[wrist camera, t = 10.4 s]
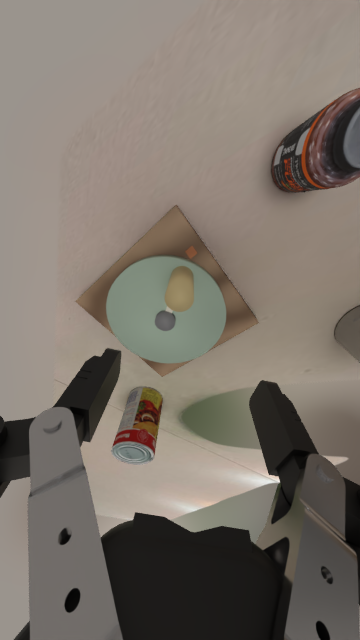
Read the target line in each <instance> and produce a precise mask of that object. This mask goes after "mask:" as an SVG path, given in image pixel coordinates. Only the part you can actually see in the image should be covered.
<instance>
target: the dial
mask: <svg viewBox="0 0 360 640" xmlns="http://www.w3.org/2000/svg"><path fill="white" fill-rule="evenodd" d="M106 313H107V318H108V322H109V325H110V327H111V329H112V331H113V333H114V334H115V336H116V337H117V339H118V340H119V341H120V342H121V343H122V344H123V345H124V346H125V347H126V348H127V349H129V350H130V351H131V352H133V353H135V354H136V355H138V356H140V357H142V358H145V359H147V360H150V361H154V362H159V363H182V362H186V361H190V360H193V359H195V358H197V357H199V356H201V355H203V354H204V353H206V352H207V351H209V350H210V349H211V348H212V347H213V346H214V345H215V344H216V342H217V341H218V340H219V338H220V336H221V334H222V332H223V330H224V327H225V322H226V306H225V302H224V298H223V295H222V292H221V290H220V288H219V286H218V284H217V283H216V281H215V279H214V278H213V277H212V276H211V275H210V274H209V272H207V271H206V270H205V269H204V268H203V267H201V266H200V265H198V264H197V263H195V262H193V261H191V260H189V259H186V258H183V257H179V256H174V255H154V256H150V257H146V258H143V259H141V260H138V261H136V262H135V263H133V264H131V265H130V266H129V267H128V268H126V269H125V270H124V271H123V272H122V273H121V274H120V275H119V276H118V277H117V278H116V280H115V281H114V283H113V284H112V286H111V288H110V290H109V293H108V297H107V303H106Z"/></svg>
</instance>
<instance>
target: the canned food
mask: <svg viewBox="0 0 360 640" xmlns="http://www.w3.org/2000/svg"><path fill="white" fill-rule="evenodd" d="M162 402H163V398H162V395H161V394H160V393H159V392H158V391H157V390H155V389H153V388H149V387H138V388H135V389H134V390H132V391H131V392H130V395H129V398H128V401H127V404H126V407H125V410H124V413H123V416H122V419H121V422H120V425H119V429H118V432H117V435H116V438H115V441H114V444H113V447H112V450H111V452H112V455H113V456H114V457H115V458H116V459H118V460H120V461H122V462H124V463H128V464H134V465H142V464H147V463H149V462H151V461H152V460H153V458H154V455H155V448H156V441H157V435H158V428H159V421H160V415H161V408H162Z"/></svg>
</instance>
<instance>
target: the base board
mask: <svg viewBox="0 0 360 640" xmlns="http://www.w3.org/2000/svg"><path fill="white" fill-rule="evenodd" d="M154 255H174V256H179V257H183V258H186V259H189V260H191V261H193V262H195V263H197V264H198V265H200V266H201V267H203V268H204V269H205V270H206V271H207V272H209V274H210V275H211V276H212V277H213V278H214V279H215V281H216V283H217V284H218V286H219V288H220V290H221V292H222V295H223V298H224V302H225V306H226V322H225V327H224V330H223V332H222V334H221V336H220V338H219V340H218V341H217V342H216V344H215V345H214V346H213V347H212V348H211V349H213V348H215V347H217V346H218V345H220V344H222V343H224V342H225V341H227V340H229V339H231V338H233V337H234V336H236V335H238V334H240V333H242V332H243V331H245V330H247V329H249V328H250V327H252V326H254V325H256V324H258V323H259V322H258V321H257V319H256V317H255V316H254V314H253V313H252V311H251V310H250V309H249V307H248V306H247V304H246V303H245V301H244V300H243V299H242V297H241V296H240V294H239V293H238V291H237V290H236V289H235V287H234V286H233V284H232V283H231V282H230V280H229V279H228V277H227V276H226V274H225V273H224V272H223V270H222V269H221V267H220V266H219V264H218V263H217V262H216V260H215V259H214V257H213V256H212V255H211V253H210V252H209V250H208V249H207V247H206V246H205V245H204V243H203V242H202V240H201V239H200V237H199V236H198V235H197V233H196V232H195V230H194V229H193V228H192V226H191V225H190V223H189V222H188V220H187V219H186V218H185V216H184V215H183V213H182V212H181V210H180V209H179V208H178V206H177V205H175V206H174V207H173V208H172V209H171V210H170V211H169V212H168V213H167V214H166V215H165V216H164V217H163V218H162V219H161V220H160V221H159V222H158V223H157V224H156V225H155V226H154V227H153V228H151V229H150V230H149V231H148V232H147V233H146V234H145V235H144V236H143V237H142V238H141V239H140V240H139V241H138V242H137V243H136V244H135V245H134V246H133V247H132V248H131V249H130V250H129V251H127V252H126V253H125V254H124V255H123V256H122V257H121V258H120V259H119V260H118V261H117V262H116V263H115V264H114V265H113V266H112V267H111V268H110V269H109V270H108V271H107V272H106V273H105V274H103V275H102V276H101V277H100V278H99V279H98V280H97V281H96V282H95V283H94V284H93V285H92V286H91V287H90V288H89V289H88V290H87V291H86V292H85V293H84V294H83V295H82V296H81V297H79V298H78V299H77V300H76V301H75V302H77V303H78V304H79V305H80V306H81V307H82V308H84V309H85V310H86V311H87V312H88V313H89V314H90V315H92V316H93V317H94V318H95V319H96V320H97V321H98V322H100V323H101V324H102V325H103V326H104V327H105V328H107V329H108V330H109V331H110V332H111V333H112V334H113V335H115V334H114V333H113V331H112V329H111V327H110V325H109V322H108V318H107V313H106V303H107V297H108V293H109V290H110V288H111V286H112V284H113V283H114V281H115V280H116V278H117V277H118V276H119V275H120V274H121V273H122V272H123V271H124V270H125V269H126V268H128V267H129V266H130V265H131V264H133V263H135V262H136V261H138V260H141V259H143V258H146V257H150V256H154ZM211 349H210V350H211ZM207 352H208V351H207ZM139 357H140V356H139ZM140 358H141V359H142V360H143V361H145V362H146V363H147V364H148V365H149V366H150V367H151V368H153V369H154V370H155V371H156V372H157V373H158V374H159V375H161V376H162V377H163V376H165V375H166V374H168V373H170V372H172V371H174V370H175V369H177V368H179V367H181V366H183V365H184V364H186V363H188V362H190V361H192V360H190V361H186V362H182V363H159V362H154V361H150V360H147V359H145V358H142V357H140Z"/></svg>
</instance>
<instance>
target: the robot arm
mask: <svg viewBox="0 0 360 640" xmlns="http://www.w3.org/2000/svg"><path fill="white" fill-rule="evenodd" d="M335 338H336V340H337V342H338V343H339V344H340V345H341V346H343V347H344V348H345V349H346V350H347V351H348V352H349V353H350V354H351V355H352V356H353V357H354V358H355V359H356V360H357V361H358V362H359V363H360V306H358V307H356V308H355V309H353V310H351V311H350V312H348V313H347V314H346V315H345V316H344V317H343V318H342V319H341V320H340V322H339V323H338V324H337V327H336V329H335ZM120 363H121V351H119V350H114V349H109V348H107V349H106V350H105V352H104V353H103V355H102V356H101V357H99V356H93V357H92V358H90V359H89V360H87V361H86V362H85V363H84V365H83V366H82V368H81V369H80V371H79V372H78V373H77V375H76V376H75V378H74V379H73V380H72V382H71V383H70V384H69V386H68V387H67V389H66V390H65V391H64V393H63V394H62V396H61V397H60V398H59V400H58V401H57V403H56V404H55V405H54V406H53V407H52V408H50V409H48V410H46V411H44V412H42V413H41V414H40V415H38V416H37V417H34V418H30V419H24V420H15V421H7V422H4V420H3V418H2V417H1V416H0V497H1V496H2V494H3V493H4V491H5V489H6V488H7V486H8V485H9V483H10V481H11V480H16V479H21V478H25V477H30V479H31V492H30V495H29V498H28V551H29V606H30V621H29V622H28V623H27V625H26V626H25V627H24V628H23V629H22V630H21V632H20V633H19V634H18V635H17V636H16V638H15V639H14V640H360V632H359V605H360V485H358V484H356V483H354V482H352V481H350V480H348V479H346V478H344V477H342V475H341V474H340V472H339V471H338V470H337V468H336V467H335V466H334V465H333V464H332V463H331V462H330V461H329V460H327V459H326V458H325V457H323V456H321V455H319V453H318V452H317V450H316V448H315V446H314V444H313V442H312V440H311V438H310V437H309V434H308V433H307V430H306V429H305V427H304V425H303V423H302V422H301V419H300V417H299V415H298V414H297V411H296V409H295V407H294V405H293V403H292V402H291V401H290V400H289V399H288V398H287V397H286V395H285V394H282V392H281V390H280V388H279V386H278V385H277V384H276V383H274V382H269V381H264V380H262V381H260V383H259V384H258V386H257V388H256V389H255V391H254V393H253V394H252V396H251V398H250V402H249V406H250V411H251V414H252V418H253V421H254V425H255V428H256V431H257V435H258V439H259V442H260V445H261V449H262V453H263V456H264V459H265V463H266V466H267V470H268V473H269V475H274V476H279V479H280V483H279V484H278V486H277V489H276V492H275V496H274V499H273V502H272V505H271V509H270V512H269V516H268V519H267V522H266V525H265V527H264V529H263V531H262V532H261V534H260V535H259V537H258V540H257V541H256V544H254V543H253V542H251V540H250V534H249V531H248V530H243V529H236V528H230V527H224V526H220V527H216V528H212V529H208V530H204V531H200V532H195V533H194V532H190V531H188V530H187V529H184V528H183V527H181V526H179V525H177V524H176V523H174V522H172V521H170V520H169V519H167V518H165V517H161V516H155V515H149V514H142V513H136V512H135V515H134V519H133V520H132V521H127V522H124V523H122V524H119V525H117V526H116V527H114V528H112V529H111V530H109V531H108V532H107V533H105V534H104V535H103V536H102V537H101V538H100V534H99V529H98V524H97V519H96V515H95V510H94V505H93V501H92V496H91V491H90V487H89V482H88V477H87V473H86V469H85V466H84V464H83V459H82V455H81V450H80V447H81V445H82V442H83V441H86V442H90V441H91V439H92V437H93V435H94V432H95V430H96V428H97V426H98V423H99V421H100V419H101V417H102V414H103V412H104V410H105V408H106V405H107V403H108V401H109V399H110V396H111V394H112V392H113V390H114V387H115V385H116V383H117V380H118V377H119V373H120Z"/></svg>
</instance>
